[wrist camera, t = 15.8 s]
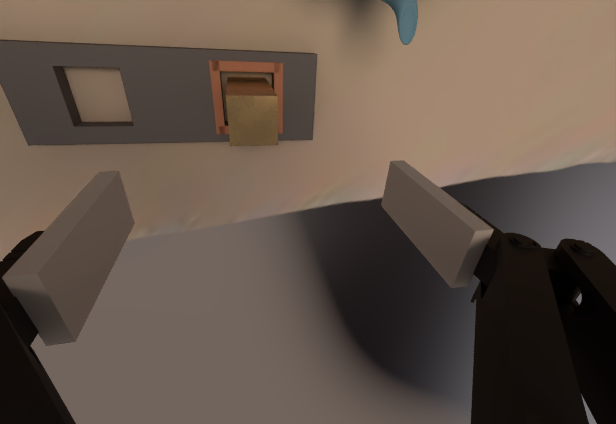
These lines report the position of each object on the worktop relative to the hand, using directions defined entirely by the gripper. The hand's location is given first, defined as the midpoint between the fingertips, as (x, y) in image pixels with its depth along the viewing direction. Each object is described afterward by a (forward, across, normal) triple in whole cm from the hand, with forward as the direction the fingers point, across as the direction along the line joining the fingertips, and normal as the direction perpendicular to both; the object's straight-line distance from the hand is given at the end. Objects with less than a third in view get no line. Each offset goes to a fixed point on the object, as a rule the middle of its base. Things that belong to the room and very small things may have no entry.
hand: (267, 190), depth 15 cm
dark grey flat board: (+26, -8, 0) cm, 27 cm away
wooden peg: (+26, 0, 0) cm, 26 cm away
